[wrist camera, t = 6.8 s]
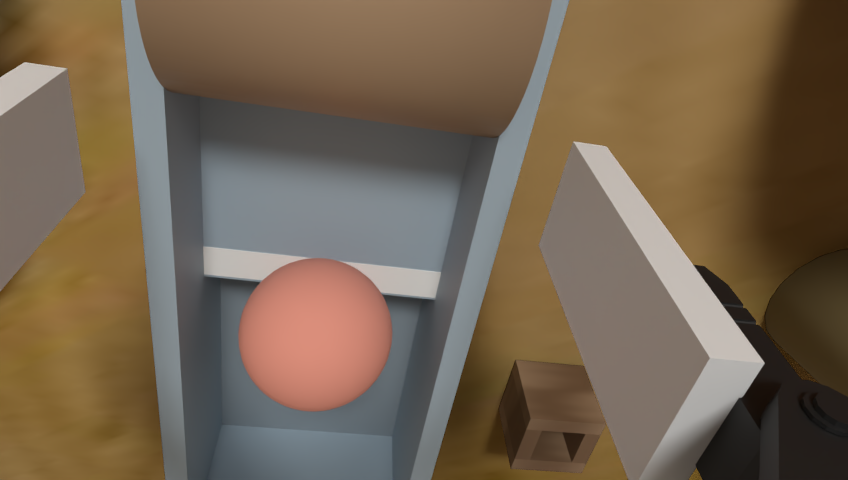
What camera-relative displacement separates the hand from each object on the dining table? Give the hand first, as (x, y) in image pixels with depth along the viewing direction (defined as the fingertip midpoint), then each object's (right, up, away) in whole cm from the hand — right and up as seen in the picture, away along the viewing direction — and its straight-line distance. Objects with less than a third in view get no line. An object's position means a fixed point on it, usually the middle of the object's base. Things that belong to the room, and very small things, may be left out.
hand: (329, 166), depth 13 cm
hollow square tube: (+8, -9, +17) cm, 21 cm away
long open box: (-2, -1, +11) cm, 11 cm away
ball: (-1, -5, +7) cm, 9 cm away
